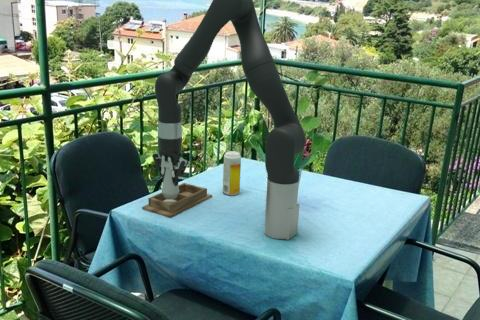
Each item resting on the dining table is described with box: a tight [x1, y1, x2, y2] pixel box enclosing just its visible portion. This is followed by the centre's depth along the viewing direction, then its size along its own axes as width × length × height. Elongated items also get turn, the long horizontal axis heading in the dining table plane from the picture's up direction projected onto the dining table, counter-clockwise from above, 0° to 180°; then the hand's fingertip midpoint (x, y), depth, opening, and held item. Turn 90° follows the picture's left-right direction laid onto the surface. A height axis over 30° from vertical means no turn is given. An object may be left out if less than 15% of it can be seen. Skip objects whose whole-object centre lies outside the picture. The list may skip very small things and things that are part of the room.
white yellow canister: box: [222, 150, 242, 197], centre depth 184 cm, size 6×6×15 cm
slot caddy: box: [141, 182, 213, 219], centre depth 175 cm, size 12×23×4 cm, turn 148°
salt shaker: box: [161, 161, 179, 200], centre depth 169 cm, size 6×6×13 cm
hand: (170, 185), depth 169 cm, fingers closed on salt shaker, 3 cm apart
